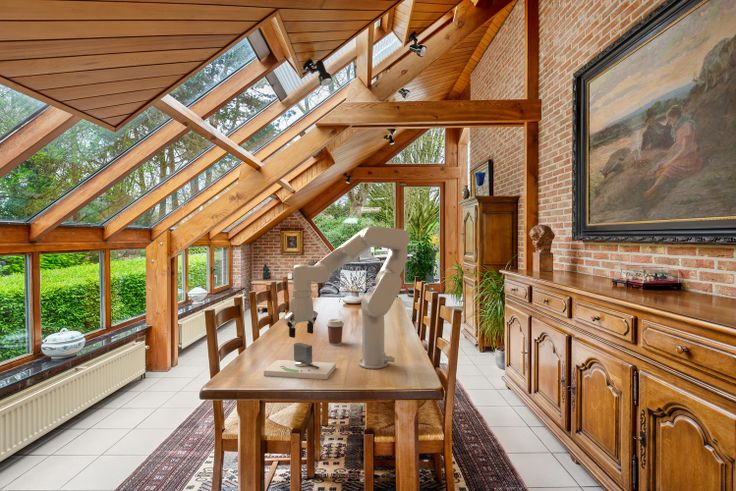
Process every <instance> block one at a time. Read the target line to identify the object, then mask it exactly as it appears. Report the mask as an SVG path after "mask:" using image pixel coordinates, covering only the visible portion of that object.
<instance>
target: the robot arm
mask: <svg viewBox="0 0 736 491" xmlns="http://www.w3.org/2000/svg"><path fill="white" fill-rule="evenodd" d="M410 242H411V236H410V235H409V233H408V231H406V230H404V229H403V228H393V227H384V226H377V225H368V226H365V227H363V228H362V229H361V230H359V231H358V232H356V233H355V234H354V235H352V236H351V237H350V238H349V239H347V240H345V242H344V243H342V244H340V245H339V246H338V247H337V248H336V249H334V250H333V251H331V252H330V253H328V254H327V255H325V256H324V257H323V258H322V259H321V260H319V261H317V263H315V264H314V265H310V264H307V263H306V264H302V263H301V264H295V265H294V267H293V270H292V271H293V275H292V276H293V278H292V281H293V282H292V284H293V285H292V297H291V298H290V300H289V301H290V302H289V307H288V308H289V310H288V314H287V315H286V316H285V317H284V322H285V325H286V326H287V328H288V336H289V338H293V339H294V338H296V327H295V326H296V325H297V324H298V323H303V322H304V323H305V322H307V326H306V333H307V334H310V335H313V334H314V325H315V322H316V321H317V317H318V315H319V313H318V311H316V310H314V300H313V297H312V294H313V290H312V283H319V284H323V283H326V282H328V281H329V279H330V278H331V274H332V273H334V272H335V271H336V270H338V269H339V268H341V267H343V266H344V265H345V266H346V265H347V264H351V263H352V262H354V261H356V260H357V259H358V258H359V257H360V256H362V255H363V254H365V253H366V252H367V251H369V250H370V249H371V248H372V247H374V248H375V247H376V248H382V249H388V252H387V257H386V259H385V260H384V263H383V265H382V266H381V267H380V270H379V271H378V273H377V275H376V276H375V280H374V284H375V289H374V290H370V291H367V292H365V294H364V295H363V296H362V298H361V304H360V305H361V317H362V322H361V324H362V325H361V326H362V328H361V330H362V332H361V333H362V334H361V335H362V339H361V340H362V344H361V345H362V349H361V350H362V356H361V357H362V359H360V360H359V361H358V365H359V366H360V367H361V368H365V369H370V370H371V369H383V368H385V367H387V366H388V365H389V362H391V363H395V359H396V358H395V357H393V356H391V355H387V353H386V352H385V316H386V314H388V312H389V311H390V309H391V308H392V305H394V302H395V300H396V299H397V297H398V296H399V293H400V292H401V288H402V286H403V285H402V283H403V282H402V281H403V280H402V278H401V274H402V272H403V270H404V268H405V265H406V264H407V262H408V261H407V260H408V257H409V256H408V253H409V252H408V246H409V244H410Z"/></svg>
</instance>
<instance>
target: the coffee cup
mask: <svg viewBox="0 0 736 491" xmlns="http://www.w3.org/2000/svg"><path fill="white" fill-rule="evenodd" d="M325 324H326V327H327V333H328V334H327V335H328V345H330V346H340V345H341V344H342V342H343V340H342V339H343V326H345V323H344V322H343V320H342V319H340V318H332V319H331V318H330V319H329V320H328V322H327V323H325Z"/></svg>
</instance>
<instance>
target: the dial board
mask: <svg viewBox="0 0 736 491" xmlns="http://www.w3.org/2000/svg"><path fill="white" fill-rule="evenodd" d="M311 365H315V366H318V367H319V368H315V367H312V366H304V367H299V366H295V361H294V360H287V359H277V360H275V361H274V362H272V364H270V365H269V366H267V368H265V369H264V370H263V376H267V377H281V378H284V377H285V378H297V379H298V378H299V379H301V378H302V379H311V380H312V379H313V380H314V379H316V380H327V379H328V378H330V376H331V375H332V373H333V372H334V370H335V369H336V367H337V364H336V362H326V361H325V362H324V361H312V364H311Z"/></svg>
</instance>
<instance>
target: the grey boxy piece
mask: <svg viewBox="0 0 736 491" xmlns="http://www.w3.org/2000/svg"><path fill="white" fill-rule="evenodd" d="M293 361H295V366H299V367H304V366H312V367H315V368H319V367H318V366H315V365H311V364H312V362H313V345H311V344H308V343H304V342H297V343H294V344H293Z"/></svg>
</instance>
